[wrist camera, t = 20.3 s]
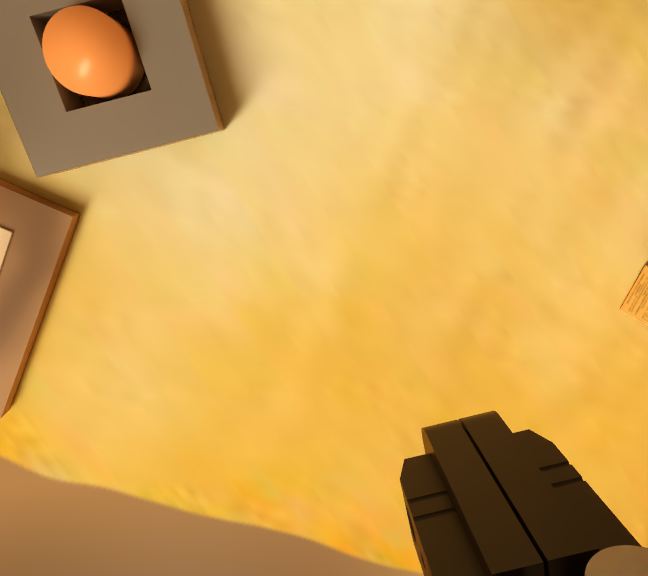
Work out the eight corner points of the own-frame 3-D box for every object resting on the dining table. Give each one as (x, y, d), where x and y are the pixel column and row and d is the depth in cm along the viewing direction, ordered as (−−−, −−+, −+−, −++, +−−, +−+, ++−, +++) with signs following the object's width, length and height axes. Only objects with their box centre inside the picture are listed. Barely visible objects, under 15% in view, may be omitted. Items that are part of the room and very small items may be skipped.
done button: (56, 29, 30) (28, 17, 26) (129, 10, 30) (110, -4, 26) (85, 106, 31) (61, 104, 28) (155, 88, 31) (139, 84, 28)
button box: (-19, -17, 29) (-51, -33, 26) (166, -65, 29) (154, -86, 26) (58, 172, 33) (37, 177, 30) (224, 130, 33) (218, 130, 30)
